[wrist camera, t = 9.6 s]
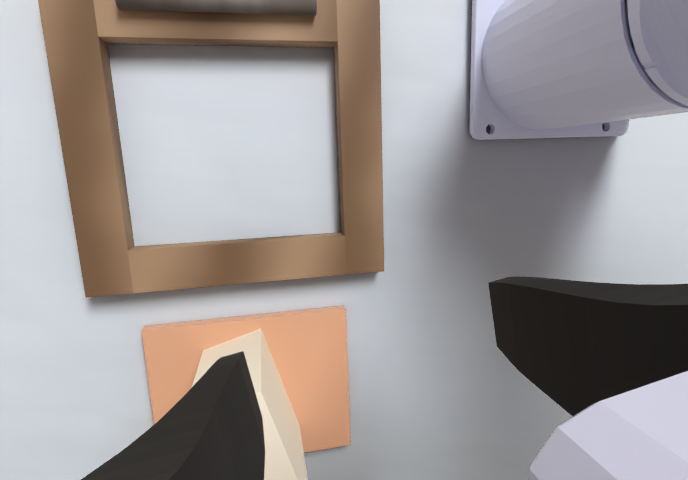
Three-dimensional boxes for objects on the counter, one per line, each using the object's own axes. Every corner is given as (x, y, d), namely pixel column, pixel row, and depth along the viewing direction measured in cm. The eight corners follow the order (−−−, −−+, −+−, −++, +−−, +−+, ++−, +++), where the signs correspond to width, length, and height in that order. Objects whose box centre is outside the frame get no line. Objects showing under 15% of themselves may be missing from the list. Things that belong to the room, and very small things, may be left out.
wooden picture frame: (373, 3, 20) (383, -12, 18) (378, 266, 22) (388, 274, 20) (47, -10, 17) (25, -28, 15) (94, 290, 19) (79, 302, 18)
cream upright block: (261, 328, 21) (261, 391, 15) (299, 425, 22) (313, 517, 16) (203, 350, 20) (180, 423, 15) (246, 447, 22) (240, 550, 16)
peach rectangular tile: (343, 305, 22) (345, 309, 21) (348, 437, 24) (350, 444, 23) (144, 325, 20) (141, 330, 20) (163, 468, 22) (161, 476, 21)
